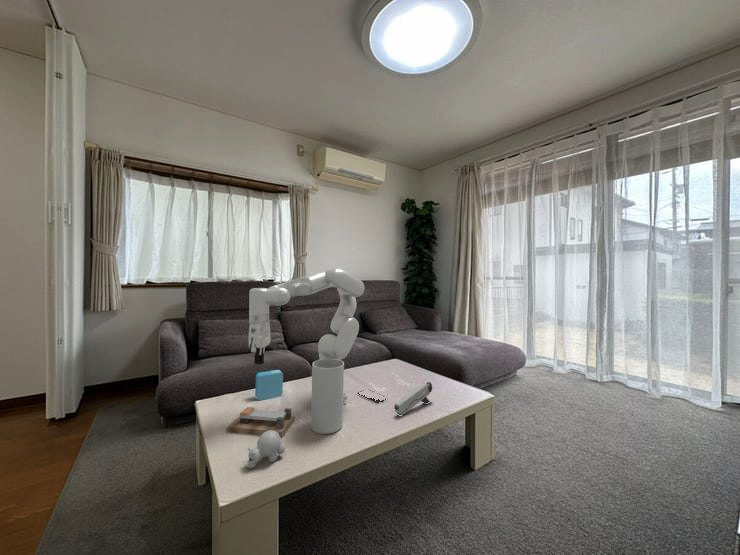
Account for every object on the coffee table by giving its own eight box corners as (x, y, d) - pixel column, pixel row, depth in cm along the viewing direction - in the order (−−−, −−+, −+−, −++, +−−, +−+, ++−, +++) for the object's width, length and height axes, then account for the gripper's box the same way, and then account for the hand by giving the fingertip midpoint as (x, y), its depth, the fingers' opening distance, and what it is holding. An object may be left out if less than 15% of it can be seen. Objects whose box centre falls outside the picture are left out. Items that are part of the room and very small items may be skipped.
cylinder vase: (314, 417, 117) (316, 358, 117) (344, 418, 117) (345, 359, 117) (307, 434, 104) (308, 367, 105) (340, 435, 104) (341, 369, 104)
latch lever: (286, 414, 111) (287, 409, 111) (281, 421, 106) (281, 416, 106) (246, 411, 113) (246, 406, 113) (239, 418, 108) (239, 413, 108)
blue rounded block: (280, 392, 141) (280, 369, 141) (282, 396, 137) (283, 371, 137) (255, 397, 135) (255, 372, 135) (256, 401, 131) (257, 375, 131)
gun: (435, 399, 135) (432, 380, 134) (400, 427, 119) (397, 406, 118) (430, 397, 137) (428, 378, 136) (396, 425, 121) (393, 404, 120)
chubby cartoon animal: (245, 470, 88) (235, 449, 86) (278, 441, 96) (270, 422, 94) (255, 481, 83) (244, 460, 81) (289, 450, 91) (280, 430, 89)
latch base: (294, 420, 114) (295, 406, 114) (282, 437, 102) (282, 421, 102) (244, 416, 116) (244, 402, 116) (226, 432, 104) (226, 416, 104)
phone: (367, 389, 147) (388, 398, 136) (367, 391, 147) (388, 400, 136) (356, 392, 141) (377, 402, 131) (356, 395, 141) (376, 405, 131)
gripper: (259, 321, 105) (259, 370, 105) (276, 316, 120) (276, 358, 120) (240, 321, 105) (240, 369, 106) (259, 315, 120) (259, 357, 120)
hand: (259, 363), depth 113 cm, fingers closed
